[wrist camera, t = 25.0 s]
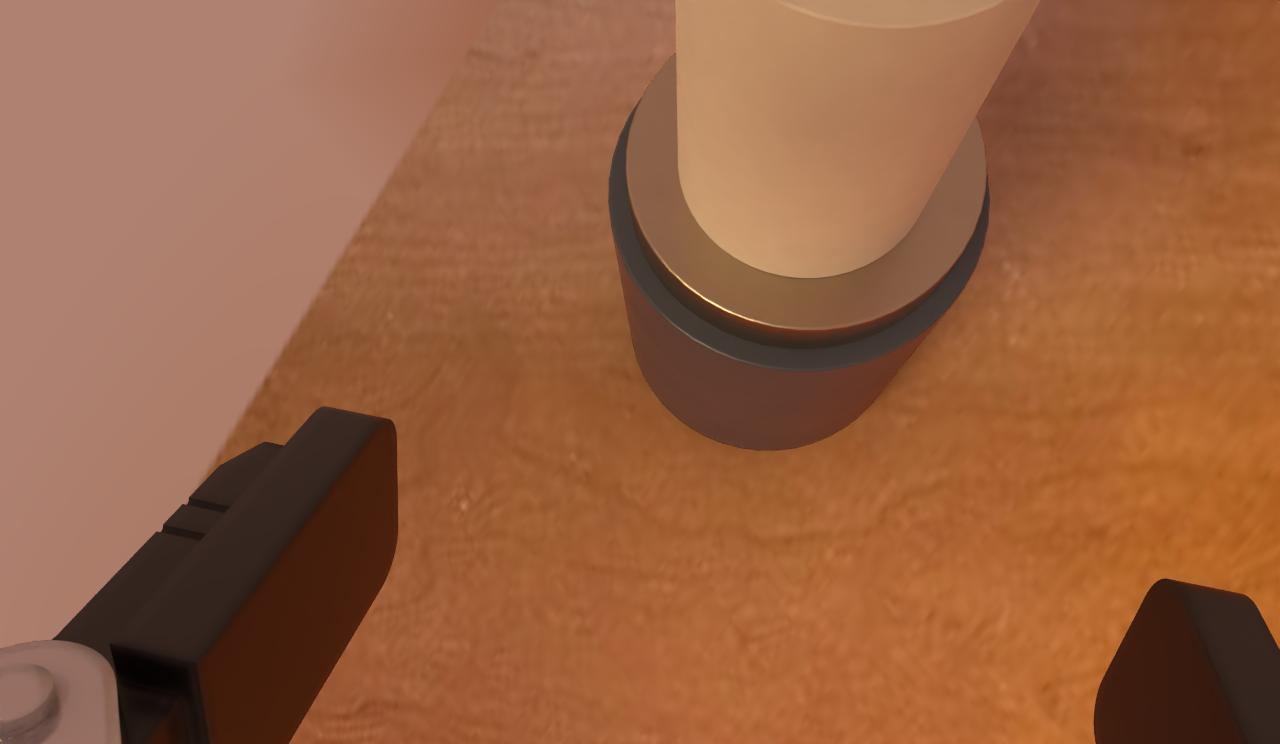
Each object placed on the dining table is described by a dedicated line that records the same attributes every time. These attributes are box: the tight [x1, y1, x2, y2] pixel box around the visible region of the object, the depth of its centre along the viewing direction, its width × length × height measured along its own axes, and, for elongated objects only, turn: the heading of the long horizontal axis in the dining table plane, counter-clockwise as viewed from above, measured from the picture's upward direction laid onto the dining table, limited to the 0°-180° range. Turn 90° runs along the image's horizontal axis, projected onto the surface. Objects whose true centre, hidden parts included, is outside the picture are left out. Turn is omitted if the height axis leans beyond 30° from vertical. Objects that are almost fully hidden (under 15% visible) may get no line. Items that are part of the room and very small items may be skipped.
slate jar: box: [608, 53, 990, 450], centre depth 27 cm, size 9×9×12 cm
